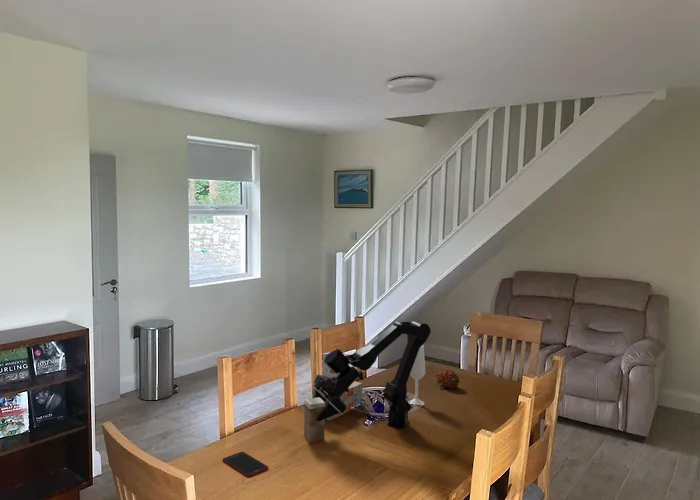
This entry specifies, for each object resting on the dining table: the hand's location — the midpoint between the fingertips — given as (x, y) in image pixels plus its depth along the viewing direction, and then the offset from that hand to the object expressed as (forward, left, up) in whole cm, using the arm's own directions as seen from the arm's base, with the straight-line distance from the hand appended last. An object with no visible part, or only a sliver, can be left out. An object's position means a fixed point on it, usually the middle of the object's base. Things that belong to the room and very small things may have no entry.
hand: (313, 415), depth 184 cm
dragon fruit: (-24, -76, -8) cm, 80 cm away
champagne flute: (-19, -50, -8) cm, 54 cm away
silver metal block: (0, 0, -8) cm, 8 cm away
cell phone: (+8, +27, -8) cm, 29 cm away
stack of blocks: (+4, -26, -8) cm, 28 cm away
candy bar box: (+17, -46, -8) cm, 50 cm away
